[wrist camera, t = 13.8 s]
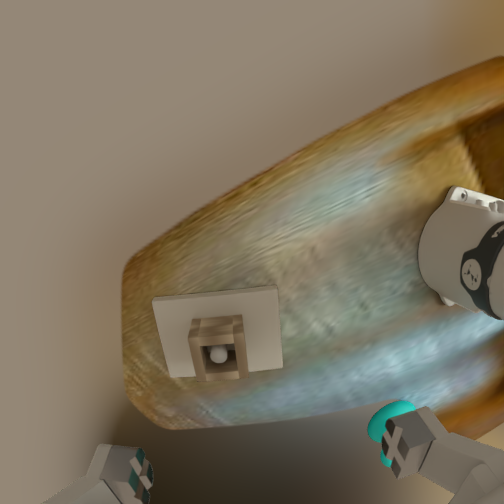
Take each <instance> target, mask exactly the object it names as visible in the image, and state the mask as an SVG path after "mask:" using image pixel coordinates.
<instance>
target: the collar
mask: <svg viewBox="0 0 504 504" xmlns="http://www.w3.org/2000/svg"><path fill="white" fill-rule="evenodd" d="M188 343H189V348H190V352H191V357H192V361H193V366H194V370H195V374H196V379H197V382H205V381H219V380H231V379H241V378H249V370H248V360H247V351H246V343H245V334H244V326H243V318H242V314H240V315H230V316H220V317H210V318H198V319H192V322H191V326H190V330H189V334H188ZM232 343H234V345H235V350H229V351H227V359H226V361H225V362H223V363H215V362H214V361H212V360H211V357H210V354H211V352H208V351H207V346H210V345H221V344H232Z"/></svg>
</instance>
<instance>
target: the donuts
mask: <svg viewBox="0 0 504 504" xmlns="http://www.w3.org/2000/svg"><path fill="white" fill-rule="evenodd" d="M414 410H416V408H415V406H414V405H413V404H412V403H410V402H408V401H396V402H393V403H390V404H388V405H386V406H384V407H383V408H381V409H380V410H379V411H378V412H377V413H375V415H374V416H373V417H372V419H371V420H370V422H369V424H368V435H369V437H370V438H371V439H372V440H374V441H376V442H380V443H382V442H381V440H382V435H383V434H384V433H385V432H386V430H387V429H386V427H385V424H386V421H387V419H388V418H391V417H395V416H398V415H401V414H404V413H407V412H410V411H414ZM380 457H381V461H382V463H383V464H384V465H385V466H387V467H390V466H391V463H392V460H389V459H387V458H386V457H385V455H384V453H383V450H382V451H381V456H380Z"/></svg>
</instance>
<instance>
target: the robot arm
mask: <svg viewBox="0 0 504 504" xmlns="http://www.w3.org/2000/svg"><path fill="white" fill-rule="evenodd" d="M461 194H462V197H461ZM418 261H419V268H420V272H421V275H422V277H423V279H424V281H425V282H426V284H427V285H428V286H429V287H430V288H432V289H433V290H435V291H436V292H438V294H439V295H440V298H441V300H442V302H443V303H444V304H445V305H448V306H452V305H454V304H458V305H460V306H462V307H464V308H466V309H468V310H470V311H472V312H474V313H478V312H479V311H483V312H484V313H485V314H487V315H488V316H490V317H493V318H495V319H498V320H504V200H501V199H498V198H495V197H492V196H489V195H486V194H482V193H479V192H476V191H473V190H469V189H466V188H462V187H459V186H452V187H451V188H450V190H449V192H448V194H447V196H446V198H445V201H444V202H443V204H442V205H441V206H440V207H439V208H438V209H437V210H436V211H435V212H434V213H433V214H432V215H431V217H430V218H429V220H428V221H427V223H426V225H425V227H424V230H423V232H422V235H421V239H420V243H419V250H418ZM385 427H386V429H387V430H386V432H385V433H384V434H383V435H382V440H381V442H382V450H383V453H384V455H385V457H386V458H387V459H389V460H392V463H391V466H390V467H391V469H392V471H393V473H394V475H395V476H396V479H400V478H403V477H406V476H409V475H412V474H415V473H417V472H419V474H421V475H422V476H424V477H426V478H427V479H429V480H431V481H433V482H434V483H436V484H438V485H440V486H441V487H443V488H445V489H447V490H448V491H450V492H452V493H454V494H455V495H454V497H453V498H452V499H451V501H450V502H449V503H448V504H504V451H503V450H501V449H498V448H495V447H492V446H489V445H486V444H483V443H480V442H477V441H474V440H472V439H469V438H466V437H463V436H461V435H458V434H455V433H448V432H447V431H446V429H445V428H444V427H443V425H442V424H441V423H440V421H439V420H438V419H437V418H436V416H435V415H434V414H433V412H432V411H431V410H430V409H429V407H427V406H425V407H422V408H419V409H416V410H414V411H410V412H407V413H404V414H401V415H398V416H395V417H391V418H388V419H387V421H386V424H385ZM144 457H145V453H144V451H143V449H142V448H134V447H125V446H116V445H107V444H100V445H99V446H98V447H97V449H96V452H95V454H94V457H93V459H92V462H91V464H90V467H89V469H88V472H87V474H86V477H83V476H82V477H80V478H79V479H77V480H76V481H75V482H73V483H72V484H70V485H69V486H67V487H66V488H65V489H63V490H61V491H60V492H58V493H57V494H55V495H54V496H52V497H51V498H49V499H48V500H46V501H45V502H43V503H42V504H149V499H150V494H149V493H148V491H147V489H149V487H151V486H152V483H153V470H152V466H151V464H150V462H149V461H147V460H146V459H144Z"/></svg>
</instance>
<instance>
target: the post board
mask: <svg viewBox="0 0 504 504" xmlns="http://www.w3.org/2000/svg"><path fill="white" fill-rule="evenodd" d="M152 305H153V310H154V314H155V319H156V323H157V327H158V331H159V336H160V340H161V344H162V348H163V351H164V355H165V359H166V363H167V366H168V370H169V374H170V377H191V376H196V374H195V370H194V366H193V361H192V357H191V352H190V348H189V343H188V334H189V330H190V326H191V322H192V319H198V318H210V317H220V316H230V315H240V314H242V318H243V326H244V334H245V343H246V351H247V360H248V370H249V372H252V371H261V370H269V369H277V368H283V360H282V344H281V328H280V313H279V298H278V288H277V286H276V285H271V286H262V287H253V288H244V289H235V290H225V291H216V292H205V293H195V294H184V295H173V296H162V297H154V298H153V300H152ZM229 350H235V345H234V343H232V344H221V345H210V346H207V351H208V352H211V354H210V357H211V360H212V361H214V362H215V363H223V362H225V361H226V359H227V351H229Z"/></svg>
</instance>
